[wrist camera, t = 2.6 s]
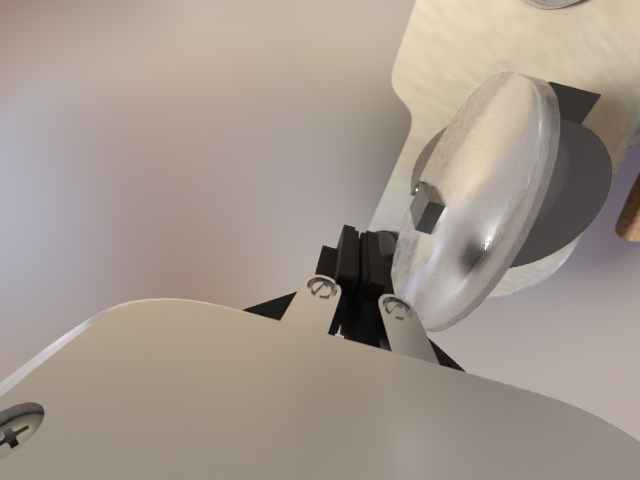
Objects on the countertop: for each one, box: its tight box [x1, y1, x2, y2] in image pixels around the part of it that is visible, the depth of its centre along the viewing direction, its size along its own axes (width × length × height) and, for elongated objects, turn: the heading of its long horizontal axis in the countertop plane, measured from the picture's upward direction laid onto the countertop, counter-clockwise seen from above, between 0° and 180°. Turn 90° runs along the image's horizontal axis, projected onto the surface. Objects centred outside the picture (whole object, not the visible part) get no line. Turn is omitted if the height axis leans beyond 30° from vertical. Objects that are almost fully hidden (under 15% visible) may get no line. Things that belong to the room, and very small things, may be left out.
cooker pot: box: [411, 82, 612, 268], centre depth 33 cm, size 24×18×12 cm
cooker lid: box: [391, 72, 560, 332], centre depth 20 cm, size 19×19×3 cm
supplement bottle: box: [374, 231, 398, 272], centre depth 42 cm, size 7×7×12 cm
